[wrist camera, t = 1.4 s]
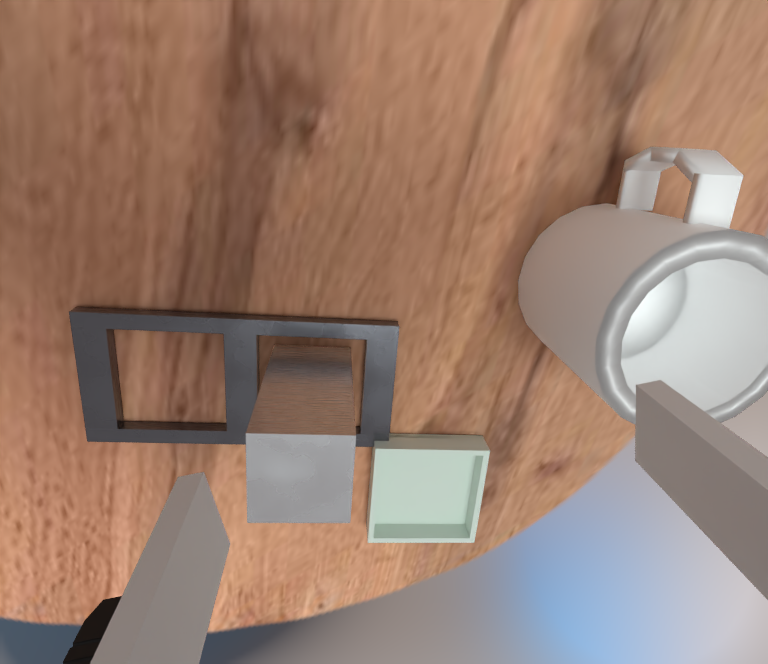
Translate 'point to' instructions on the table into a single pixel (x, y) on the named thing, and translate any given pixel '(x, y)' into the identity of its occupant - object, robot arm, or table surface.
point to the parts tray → (426, 488)
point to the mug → (656, 290)
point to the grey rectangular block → (302, 438)
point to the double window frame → (240, 370)
